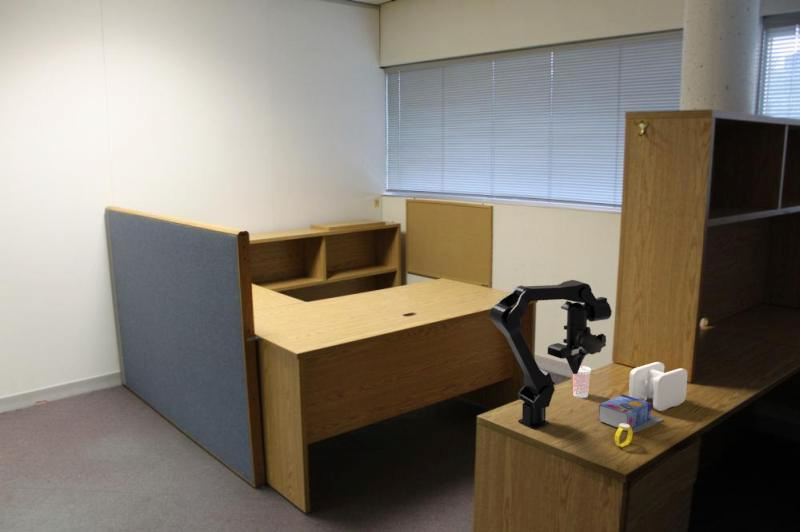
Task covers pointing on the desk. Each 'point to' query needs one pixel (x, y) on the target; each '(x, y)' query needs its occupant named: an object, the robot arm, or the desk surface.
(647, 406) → the ink cartridge box
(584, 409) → the desk surface
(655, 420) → the mat
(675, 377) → the cable organizer
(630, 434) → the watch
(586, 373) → the beverage cup
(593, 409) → the desk surface
